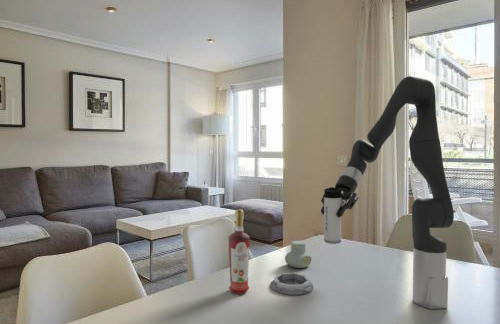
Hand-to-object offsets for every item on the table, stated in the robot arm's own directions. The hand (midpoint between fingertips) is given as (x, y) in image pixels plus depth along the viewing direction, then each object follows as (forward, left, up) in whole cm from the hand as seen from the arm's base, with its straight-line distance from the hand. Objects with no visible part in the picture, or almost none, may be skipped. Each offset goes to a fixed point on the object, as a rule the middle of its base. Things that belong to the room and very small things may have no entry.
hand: (330, 214), depth 127 cm
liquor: (-4, +35, -25) cm, 43 cm away
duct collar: (-3, +16, -24) cm, 29 cm away
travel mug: (+1, -1, -11) cm, 11 cm away
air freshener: (+17, +7, -25) cm, 31 cm away
